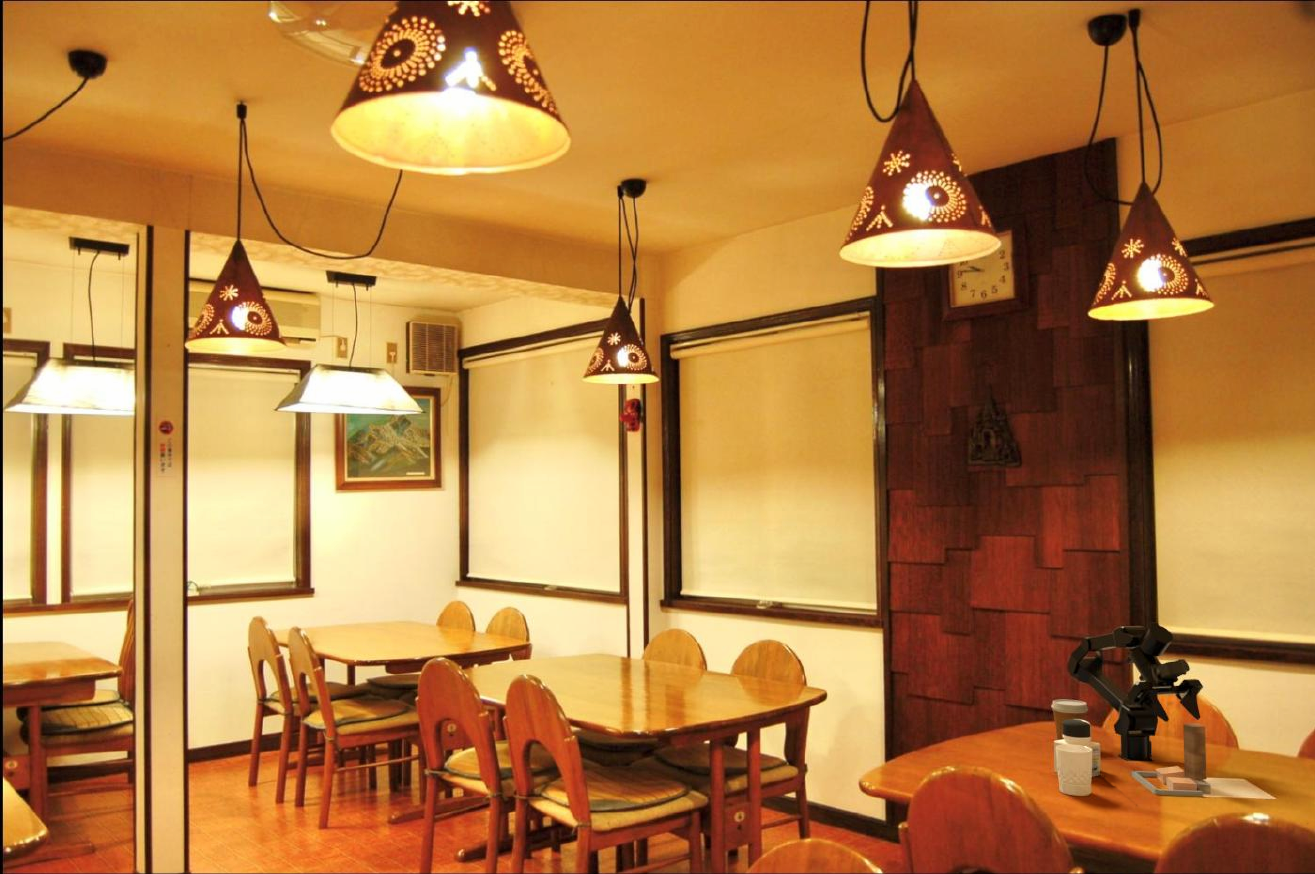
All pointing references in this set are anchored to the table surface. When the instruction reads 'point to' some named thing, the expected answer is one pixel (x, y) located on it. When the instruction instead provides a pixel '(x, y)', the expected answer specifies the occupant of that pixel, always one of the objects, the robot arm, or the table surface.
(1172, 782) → the tile
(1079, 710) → the disposable coffee cup
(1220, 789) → the board
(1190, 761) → the upright brown post
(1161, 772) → the tile
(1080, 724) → the container
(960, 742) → the table surface
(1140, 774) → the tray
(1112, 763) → the table surface
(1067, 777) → the white cup
